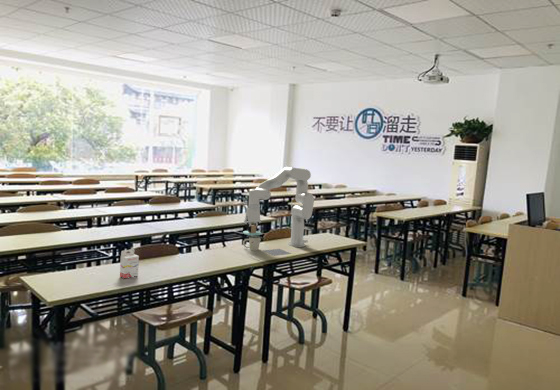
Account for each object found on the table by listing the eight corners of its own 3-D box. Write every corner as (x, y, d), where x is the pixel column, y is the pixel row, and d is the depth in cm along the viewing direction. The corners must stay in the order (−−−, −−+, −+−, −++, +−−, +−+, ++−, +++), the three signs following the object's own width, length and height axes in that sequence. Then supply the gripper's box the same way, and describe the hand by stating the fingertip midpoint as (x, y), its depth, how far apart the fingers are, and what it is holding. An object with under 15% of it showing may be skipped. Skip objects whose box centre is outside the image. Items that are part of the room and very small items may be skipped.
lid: (254, 231, 330) (255, 223, 329) (264, 234, 319) (265, 226, 318) (239, 232, 322) (240, 224, 321) (248, 235, 312) (249, 227, 311)
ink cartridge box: (124, 279, 241) (125, 252, 239) (119, 277, 244) (120, 250, 242) (138, 276, 247) (139, 250, 246) (133, 274, 250) (134, 248, 249)
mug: (259, 252, 318) (260, 238, 317) (241, 251, 318) (242, 237, 317) (260, 249, 326) (260, 236, 325) (243, 248, 326) (243, 235, 325)
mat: (279, 250, 329) (279, 248, 329) (291, 254, 317) (291, 253, 317) (262, 251, 320) (262, 250, 320) (274, 256, 308) (274, 255, 308)
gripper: (260, 205, 326) (259, 229, 328) (240, 205, 317) (239, 231, 319) (266, 206, 320) (264, 231, 322) (246, 207, 311) (244, 233, 313)
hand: (252, 231), depth 321 cm, fingers closed on lid, 4 cm apart
